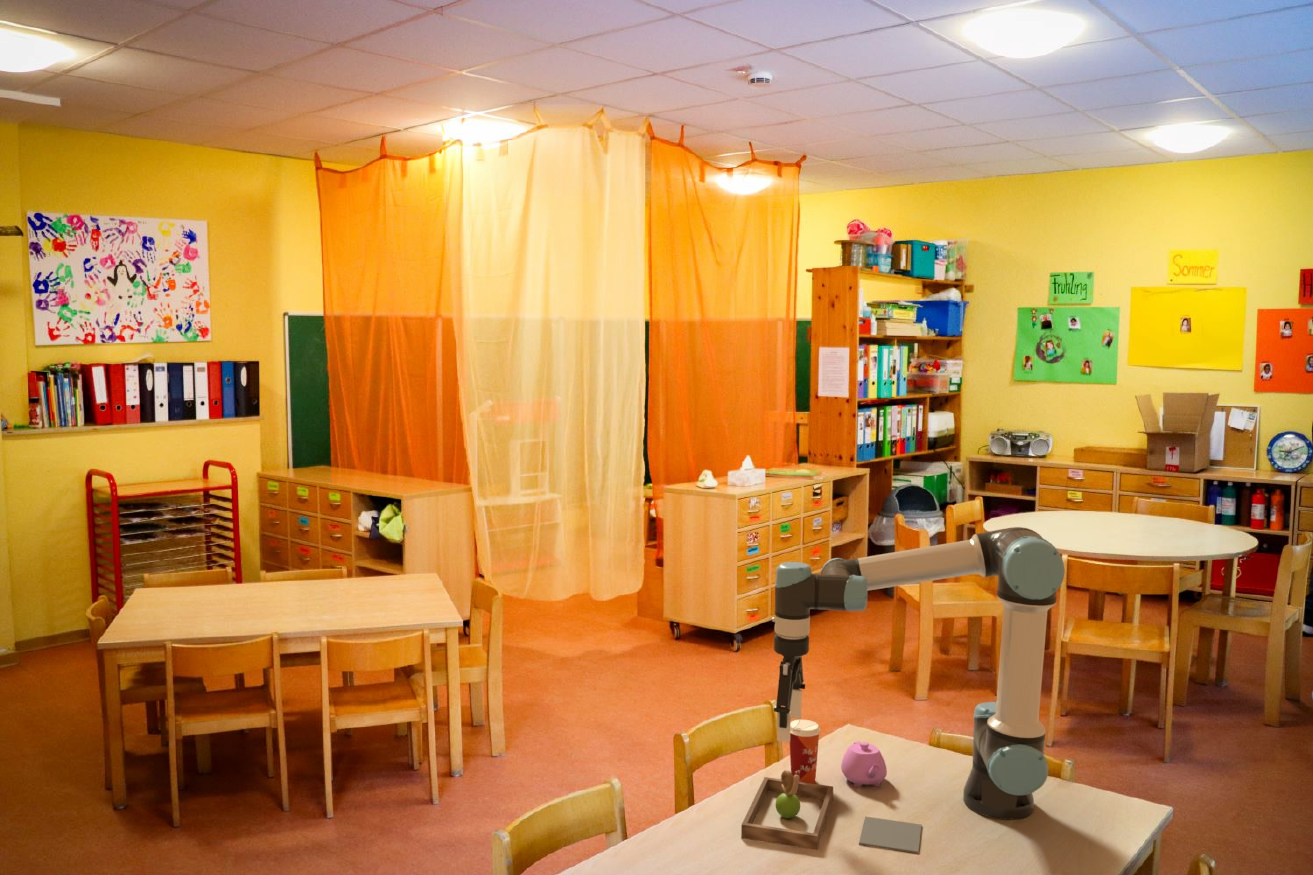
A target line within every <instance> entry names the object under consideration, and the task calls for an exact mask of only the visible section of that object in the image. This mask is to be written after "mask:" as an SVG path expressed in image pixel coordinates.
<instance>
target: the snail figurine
mask: <svg viewBox="0 0 1313 875" xmlns="http://www.w3.org/2000/svg"><path fill="white" fill-rule="evenodd" d="M795 773H796V775H794V777H793V775H792V773H791V770H787V769H786V770H783V771H782V773H781V775H780V776H781V777H780V779H781V780H782V785H781V787H782V790H783V791H784V793H782V794H780V793H779V795H778V796H777V798H776V800H775V808H776V811H777V813H778V814H779V816H781V817H782V818H784V819H793V818H795V817H796V816H797V815H798V814H799V812H800V810H801V802H800V799H799V796H796V795H795V794H796V792H797V789H798V784H799V779H800V777H799V776H798V775H797V773H800V770H798V771H795Z"/></svg>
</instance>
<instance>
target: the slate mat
mask: <svg viewBox="0 0 1313 875" xmlns="http://www.w3.org/2000/svg"><path fill="white" fill-rule="evenodd" d="M863 820H864V821H863V824H862V829H861V833H860V838H859V842H858V844H859V845H861V846H867V847H872V848H878V849H879V848H880V849H888V850H892V851H899V852H907V853H912V854H919V850H920V843H921V842H920V841H921V836H922V835H921V833H922V824H918V823H913V822H905V821H900V820H893V819H886V818H885V819H884V818H881V817H871V816H865V817H864V819H863Z"/></svg>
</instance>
